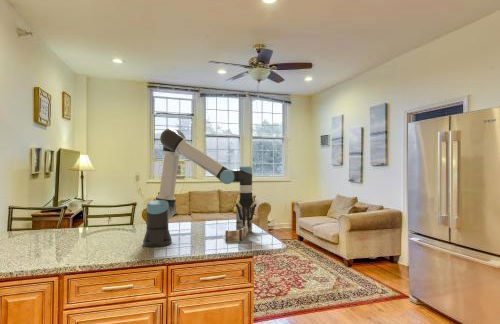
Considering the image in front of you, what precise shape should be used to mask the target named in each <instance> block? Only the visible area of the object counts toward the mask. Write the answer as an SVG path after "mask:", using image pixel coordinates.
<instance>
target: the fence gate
mask: <svg viewBox="0 0 500 324" xmlns="http://www.w3.org/2000/svg"><path fill="white" fill-rule="evenodd" d="M241 230H242V239H243V238H244V237H246V236H247V235H248V232H245V227H244V228H242V229H241Z"/></svg>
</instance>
